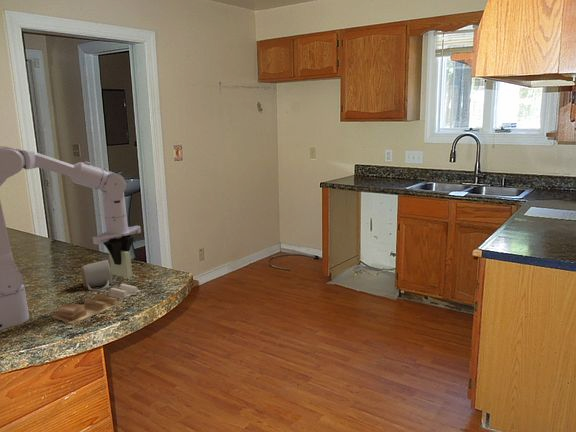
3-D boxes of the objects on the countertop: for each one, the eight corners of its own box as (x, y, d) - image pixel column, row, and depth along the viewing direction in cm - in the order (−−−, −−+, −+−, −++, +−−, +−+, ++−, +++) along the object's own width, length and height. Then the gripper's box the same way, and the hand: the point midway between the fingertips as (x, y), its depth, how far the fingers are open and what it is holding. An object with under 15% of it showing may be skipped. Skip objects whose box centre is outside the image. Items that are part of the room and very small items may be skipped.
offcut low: (72, 320, 116) (71, 316, 116) (57, 316, 119) (57, 311, 119) (86, 314, 119) (86, 310, 119) (72, 310, 122) (71, 306, 122)
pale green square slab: (127, 277, 130) (125, 253, 129) (111, 274, 134) (108, 250, 132) (132, 275, 131) (129, 251, 130) (116, 272, 135) (113, 249, 134)
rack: (72, 327, 114) (71, 317, 114) (51, 320, 119) (49, 310, 119) (123, 305, 127) (122, 297, 126) (101, 299, 132) (100, 291, 131)
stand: (121, 302, 129) (120, 293, 129) (107, 298, 133) (106, 290, 132) (141, 293, 135) (140, 285, 135) (127, 290, 138) (126, 282, 138)
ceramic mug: (82, 285, 144) (79, 261, 143) (110, 280, 148) (107, 256, 146) (85, 296, 135) (81, 271, 133) (114, 291, 139) (112, 266, 137)
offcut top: (73, 315, 116) (72, 310, 116) (58, 312, 118) (58, 308, 118) (84, 309, 119) (83, 305, 119) (70, 307, 121) (69, 302, 121)
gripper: (102, 222, 121) (108, 272, 124) (146, 212, 133) (150, 257, 136) (85, 220, 125) (91, 268, 127) (129, 210, 137) (134, 254, 139)
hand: (120, 263), depth 132 cm, fingers closed on pale green square slab, 2 cm apart
